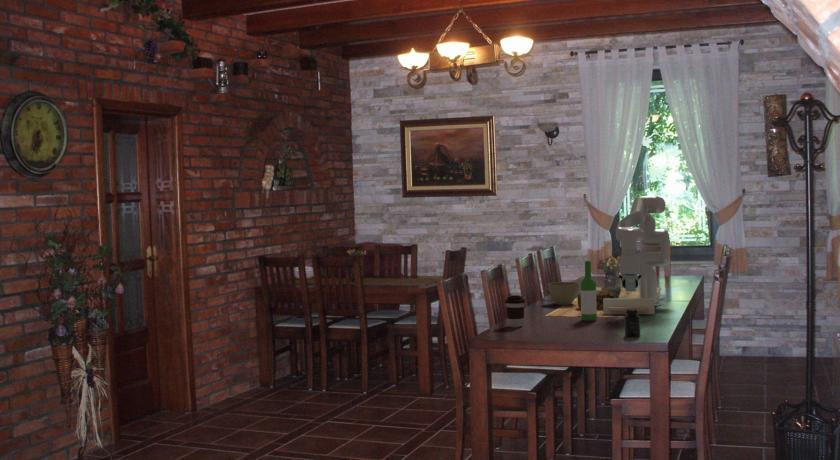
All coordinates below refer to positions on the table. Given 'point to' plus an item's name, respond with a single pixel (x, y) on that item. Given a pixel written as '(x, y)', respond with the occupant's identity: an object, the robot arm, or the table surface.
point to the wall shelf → (628, 306)
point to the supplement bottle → (632, 323)
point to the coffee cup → (515, 310)
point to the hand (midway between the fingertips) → (630, 287)
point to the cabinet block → (630, 283)
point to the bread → (599, 298)
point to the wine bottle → (588, 295)
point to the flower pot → (563, 292)
